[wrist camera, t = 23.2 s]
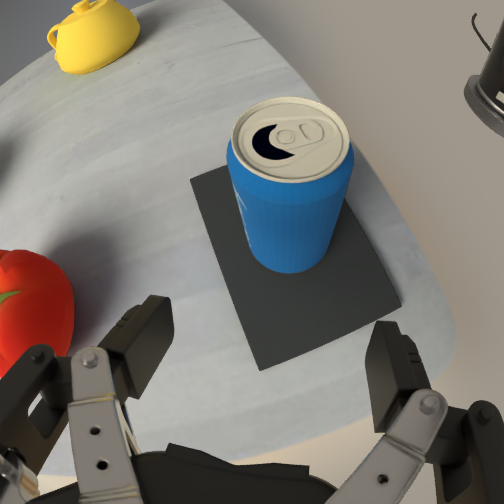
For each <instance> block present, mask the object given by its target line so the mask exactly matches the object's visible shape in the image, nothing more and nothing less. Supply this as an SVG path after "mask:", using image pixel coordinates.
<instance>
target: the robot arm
mask: <svg viewBox="0 0 504 504" xmlns="http://www.w3.org/2000/svg"><path fill="white" fill-rule="evenodd" d="M476 16H477V14H476V13H475V14H474V15H473V16H472V26H473V28H474V30H475V32H476V33H477V35H478V36H479V38H480V40H481V41H482V42H483V44H484V45H485V46H486V48H487V49H488V50H489V52H490V53H489V56H488V58H487V60H486V62H485V65H484V67H483V69H482V72H481V74H480V76H479V78H478V80H477V82H476V88H477V90H478V92H479V94H480V95H481V97H482V98H483V99H484V100H485V102H486V103H487V104H488V105H489V106H490V107H491V108H492V109H493V110H495V111H496V112H497V113H498V114H500V115H501V116H502V117H504V18H503V21H502V24H501V27H500V29H499V32H498V33H497V35H496V38H495V40H494V43H493V46H492V48H490V47H489V46H488V44H487V43H486V42H485V41H484V39H483V38H482V36H481V35H480V33H479V32H478V30H477V29H476V26H475V23H474V19H475V17H476ZM173 337H174V323H173V315H172V307H171V301H170V298H169V297H163V296H157V295H150V296H149V297H148V298H147V299H146V300H145V301H144V303H143V304H142V305H136V306H134V307H133V308H131V309H129V310H128V311H127V312H126V313H125V314H124V315H123V316H122V318H121V320H119V321H118V322H117V323H116V326H114V327H113V328H112V329H111V330H110V331H109V333H108V334H107V335H106V336H105V337H104V339H103V340H102V341H101V342H100V343H99V344H98V346H97V347H95V346H90V347H85V348H82V349H80V350H79V351H77V352H76V353H75V354H74V355H73V357H64V356H56V355H55V352H54V350H53V348H52V347H51V346H50V345H48V344H36V345H33V346H31V347H30V348H28V349H27V350H26V351H25V352H24V353H23V354H22V355H21V356H20V358H19V359H18V360H17V361H16V362H15V363H14V364H13V366H12V367H11V368H10V369H9V370H8V371H7V372H6V374H5V375H4V376H3V377H2V378H1V380H0V504H399V503H400V501H401V500H402V498H403V497H404V495H405V494H406V492H407V491H408V489H409V488H410V486H411V485H412V483H413V481H414V480H415V478H416V477H417V475H418V473H419V472H420V470H421V468H422V467H423V465H424V463H431V464H433V468H434V477H435V486H436V496H437V504H504V422H503V420H502V417H501V414H500V412H499V410H498V409H497V408H496V406H495V405H493V404H492V403H490V402H488V401H484V400H480V401H476V402H474V403H473V404H472V405H471V406H470V408H469V409H468V410H465V409H460V408H455V407H451V406H448V404H447V401H446V400H445V398H444V397H443V396H442V395H441V394H440V393H438V392H436V391H434V390H432V388H431V386H430V383H429V380H428V377H427V374H426V371H425V369H424V366H423V363H421V361H422V360H421V358H420V355H419V352H418V350H417V347H416V345H415V343H414V342H413V341H412V340H411V339H410V338H409V337H408V335H401V333H400V330H399V327H398V324H397V322H395V321H377V322H376V323H375V326H374V329H373V333H372V336H371V339H370V342H369V345H368V348H367V352H366V357H365V368H366V374H367V381H368V387H369V393H370V400H371V407H372V415H373V422H374V431H375V433H385V434H384V435H383V436H382V438H381V439H380V440H379V441H378V443H377V444H376V445H375V447H374V448H373V449H372V450H371V452H370V453H369V454H368V455H367V457H366V458H365V459H364V460H363V462H362V463H361V464H360V465H359V466H358V467H357V469H356V470H355V471H354V472H353V473H352V475H351V476H350V477H349V478H348V479H347V480H346V481H345V482H344V483H343V484H342V486H341V487H340V488H339V489H337V488H336V487H335V486H333V485H332V484H330V483H329V482H327V481H325V480H323V479H320V478H318V477H315V476H312V475H309V466H305V465H291V464H281V463H266V464H254V465H233V464H231V463H228V462H226V461H223V460H221V459H219V458H216V457H214V456H212V455H210V454H208V453H205V452H203V451H200V450H196V449H192V448H188V447H184V446H180V445H176V444H172V443H169V444H168V446H167V449H166V451H152V452H145V453H141V451H140V449H139V447H138V444H137V441H136V438H135V435H134V431H133V428H132V425H131V421H130V418H129V414H128V410H127V407H126V404H125V401H126V400H127V398H128V396H129V397H132V398H135V399H138V400H139V399H140V397H141V395H142V393H143V392H144V390H145V388H146V386H147V385H148V383H149V381H150V379H151V378H152V376H153V374H154V372H155V371H156V369H157V367H158V366H159V364H160V362H161V360H162V359H163V357H164V355H165V354H166V352H167V350H168V348H169V347H170V345H171V343H172V341H173ZM39 393H40V394H41V396H42V399H41V400H40V402H39V403H38V404H37V406H36V407H35V409H34V410H33V412H32V413H31V414H30V416H29V417H28V409H29V406H30V405H31V403H32V402H33V401H34V399H35V398H36V396H37V395H38V394H39ZM68 422H69V428H70V436H71V444H72V451H73V458H74V464H75V470H76V475H77V480H78V481H77V482H75V483H72V484H70V485H67V486H65V487H62V488H60V489H57V490H55V491H52V492H49V493H46V494H43V495H41V496H40V492H39V490H38V480H37V475H38V474H39V472H40V470H41V468H42V466H43V465H44V463H45V461H46V459H47V457H48V456H49V454H50V452H51V450H52V449H53V447H54V445H55V444H56V442H57V440H58V438H59V437H60V435H61V433H62V432H63V430H64V428H65V427H66V425H67V423H68Z"/></svg>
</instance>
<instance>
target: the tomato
mask: <svg viewBox="0 0 504 504" xmlns="http://www.w3.org/2000/svg"><path fill="white" fill-rule="evenodd" d="M74 316H75V304H74V297H73V290H72V286H71V283H70V281H69V280H68V278H67V276H66V275H65V273H64V271H63V270H62V269H61V268H60V267H59V266H58V265H57V264H55V263H54V262H52V261H51V260H49V259H48V258H46V257H44V256H41V255H39V254H37V253H34V252H30V251H27V250H13V251H8V250H0V378H2V377H3V376H4V375H5V374H6V372H7V371H8V370H9V369H10V368H11V367H12V366H13V364H14V363H15V362H16V361H17V360H18V359H19V358H20V356H21V355H22V354H23V353H24V352H25V351H26V350H27V349H28V348H30V347H31V346H33V345H36V344H48V345H50V346H51V347H52V348H53V350H54V352H55V355H56V356H64V357H66V354H67V352H68V350H69V348H70V344H71V339H72V334H73V329H74Z"/></svg>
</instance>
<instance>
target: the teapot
mask: <svg viewBox="0 0 504 504" xmlns="http://www.w3.org/2000/svg"><path fill="white" fill-rule="evenodd" d="M72 10H73V11H75V12H74V13H72V14H71V15H69V16H68V17H67V18H66V19H65V20H63V21H62V23H61V24H57V25H55V26H54V27H53V28H52V29H51V30H50V31H49V33H48V36H47V39H48V42H49V43H50V44H51V46H52V47H53V48H54V49H55V50H56V51H57V52H56V54H55V59H56V61H58V62H59V65H60V67H61V69H62V70H63V71H65V72H67V73H71V74H77V75H81V74H86V73H90V72H93V71H95V70H98V69H100V68H102V67H104V66H106V65H108V64H110V63H111V62H113V61H115V60H116V59H118V58H119V57H121V56H122V55H123V54H125V53H126V52H127V51H128V50H129V49H130V48H131V47H132V46H133V45H134V43H135V41H136V39H137V37H138V35H139V32H140V25H139V22H138V20H137V19H136V17H135V16H134V15H133V14H132V13H131V12H130V11H129V10H128V9H127V8H125V7H124V6H122V5H121V4H119V3H117V2H116V0H98V1H95V2H93V3H90V4H89V0H83V1H81V2H79V3H77V4H76V5H74V6H73V8H72ZM58 29H59V30H58ZM55 30H58V36H57V40H56V38H55V37H54V31H55Z"/></svg>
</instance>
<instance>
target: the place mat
mask: <svg viewBox="0 0 504 504" xmlns="http://www.w3.org/2000/svg"><path fill="white" fill-rule="evenodd" d="M190 182H191V185H192V188H193V191H194V194H195V197H196V200H197V203H198V206H199V209H200V211H201V214H202V217H203V220H204V223H205V226H206V229H207V232H208V235H209V237H210V240H211V243H212V246H213V249H214V252H215V254H216V257H217V260H218V263H219V265H220V268H221V271H222V274H223V277H224V279H225V282H226V285H227V287H228V290H229V293H230V296H231V298H232V301H233V304H234V306H235V309H236V312H237V314H238V317H239V320H240V322H241V325H242V327H243V330H244V333H245V335H246V338H247V340H248V343H249V346H250V348H251V351H252V353H253V356H254V358H255V361H256V364H257V366H258V369H259V371H261V370H264V369H267V368H269V367H272V366H275V365H277V364H280V363H282V362H285V361H287V360H290V359H292V358H294V357H297V356H299V355H302V354H304V353H306V352H309V351H311V350H313V349H316V348H318V347H320V346H323V345H325V344H327V343H329V342H331V341H334V340H336V339H338V338H340V337H342V336H344V335H347V334H349V333H351V332H353V331H355V330H357V329H359V328H361V327H363V326H365V325H367V324H369V323H371V322H373V321H375V320H377V319H379V318H381V317H383V316H385V315H387V314H389V313H391V312H393V311H394V310H396V309H398V308H400V307H401V306H402V305H401V303H400V301H399V299H398V297H397V295H396V293H395V290H394V288H393V286H392V284H391V282H390V280H389V278H388V276H387V274H386V272H385V270H384V268H383V266H382V265H381V263H380V261H379V259H378V257H377V255H376V253H375V251H374V249H373V248H372V246H371V244H370V242H369V240H368V238H367V237H366V235H365V233H364V231H363V229H362V228H361V226H360V224H359V222H358V220H357V219H356V217H355V215H354V214H353V212H352V210H351V208H350V207H349V205H348V203H347V202H346V200H345V198H344V200H343V203H342V206H341V209H340V212H339V216H338V219H337V222H336V225H335V228H334V231H333V234H332V237H331V240H330V243H329V246H328V249H327V251H326V253H325V255H324V256H323V258H322V259H321V260H320V261H319V262H318V263H317V264H316V265H314V266H313V267H311V268H309V269H307V270H305V271H302V272H298V273H281V272H276V271H273V270H271V269H269V268H267V267H265V266H264V265H262V264H261V263H260V262H259V261H258V260H257V259H256V258H255V257H254V255H253V253H252V252H251V249H250V247H249V244H248V240H247V236H246V233H245V229H244V225H243V221H242V218H241V214H240V210H239V206H238V203H237V199H236V195H235V191H234V188H233V184H232V180H231V176H230V172H229V169H228V165H226V166H223V167H220V168H218V169H215V170H212V171H210V172H207V173H204V174H202V175H199V176H197V177H194V178H192V179H190Z"/></svg>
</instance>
